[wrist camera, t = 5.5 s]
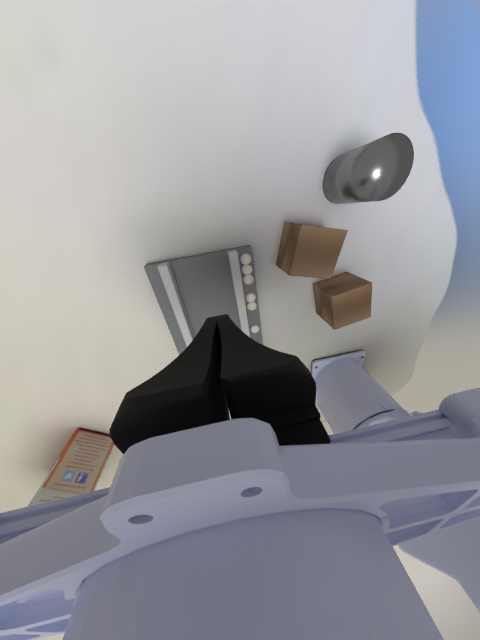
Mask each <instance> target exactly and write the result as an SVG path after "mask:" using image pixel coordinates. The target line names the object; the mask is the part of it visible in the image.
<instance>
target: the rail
mask: <svg viewBox="0 0 480 640" xmlns="http://www.w3.org/2000/svg"><path fill="white" fill-rule="evenodd" d="M144 268H145V271H146V273H147V275H148V278H149V280H150V283H151V285H152V288H153V290H154V293H155V295H156V298H157V300H158V303H159V305H160V308H161V310H162V313H163V315H164V317H165V320H166V322H167V325H168V327H169V330H170V332H171V335H172V337H173V340H174V342H175V345H176V347H177V350H178V352H179V355H180V354H181V353H182V352H183V351H184V350H185V349H186V348H187V347H188V346H189V344H190V343H191V342H192V340H193V339H194V338H195V336H196V335H197V333H198V332H199V330H200V329H201V327H202V325H203V324H204V322H205V320H206V319H207V318H209V317H214V316H219V315H224V314H228V315H229V317H230V318H231V320H232V321H233V322H234V323H235V325H236V326H237V327H238V328H239V329H240V330H241V331H243V332H244V333H245V334H246V335H247V336H249V337H250V338H252V339H253V340H255V341H256V342H258V343H260V344H262V336H261V327H260V318H259V309H258V300H257V291H256V282H255V273H254V264H253V255H252V247H251V246H250V245H248V246H242V247H237V248H232V249H226V250H221V251H215V252H210V253H204V254H199V255H193V256H188V257H182V258H177V259H172V260H166V261H161V262H155V263H150V264H146V265H145V266H144Z"/></svg>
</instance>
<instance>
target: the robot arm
mask: <svg viewBox="0 0 480 640" xmlns="http://www.w3.org/2000/svg"><path fill="white" fill-rule="evenodd" d="M365 355H366V352H365V351H363V350H362V351H357V352H352V353H348V354H343V355H338V356H334V357H329V358H325V359H320V360H315V361H313V362H312V372H311V373H310V371H309V370H308V369H307V368H306V366H305V365H304V364H303V363H302V362H301V361H300V359H299V358H298V357H297V356H294V355H290V354H286V353H282V352H279V351H276V350H273V349H271V348H268V347H266V346H264V345H262V344H260V343H258V342H256V341H255V340H253V339H252V338H250V337H249V336H247V335H246V334H245V333H244V332H243V331H241V330H240V329H239V328H238V327H237V326H236V325H235V323H234V322H233V321H232V320H231V318H230V317H229V315H228V314H224V315H219V316H214V317H209V318H207V319H206V320H205V322H204V324H203V325H202V327H201V329H200V330H199V332H198V333H197V335H196V336H195V338H194V339H193V340H192V342H191V343H190V344H189V346H188V347H187V348H186V349H185V350H184V351H183V352H182V353H181V354H180V355H179V356H178V357H177V358H176V359H175V360H174V361H172V362H171V363H170V364H169V365H168V366H167V367H165V368H164V369H163V370H161V371H160V372H159V373H157V374H156V375H154V376H153V377H152V378H150V379H149V380H147V381H145V382H144V383H142V384H140V385H139V386H137V387H136V388H134V389H132V390H131V391H129V392H127V393H126V395H125V397H124V399H123V401H122V403H121V405H120V407H119V410H118V412H117V414H116V416H115V418H114V421H113V423H112V425H111V428H110V430H109V431H110V438H111V439H112V441H113V442H114V444H115V445H116V446H117V447H118V449H119V450H120V451H121V452H122V453H123V454H124V455H123V456H122V457H121V459H120V462H119V465H118V468H117V470H116V473H115V476H114V479H113V482H112V484H111V487H109V488H105V489H101V490H96V491H92V492H88V493H84V494H79V495H75V496H71V497H67V498H63V499H58V500H54V501H50V502H46V503H41V504H37V505H33V506H29V507H25V508H20V509H16V510H12V511H8V512H3V513H0V640H32V639H37V638H42V637H46V636H51V635H55V634H60V633H65V634H64V637H63V640H444V639H443V638H442V636H441V634H440V632H439V630H438V629H437V627H436V625H435V623H434V621H433V619H432V618H431V616H430V614H429V612H428V610H427V609H426V607H425V605H424V603H423V601H422V599H421V598H420V596H419V594H418V592H417V590H416V588H415V587H414V585H413V583H412V581H411V579H410V578H409V576H408V574H407V572H406V570H405V568H404V567H403V565H402V563H401V561H400V559H399V557H398V556H397V554H396V552H395V550H394V548H393V547H392V546H394V545H398V546H399V548H400V549H401V550H402V551H404V552H405V553H406V554H408V555H410V556H412V557H414V558H416V559H418V560H420V561H421V562H423V563H425V564H427V565H429V566H431V567H433V568H435V569H437V570H439V571H441V572H443V573H445V574H447V575H448V576H450V577H452V578H453V579H455V580H456V581H458V582H459V584H460V585H461V586H462V588H463V589H464V591H465V592H466V593H467V595H468V596H469V597H470V599H471V600H472V602H473V603H474V605H475V606H476V608H477V609H478V610H479V612H480V388H475V389H471V390H467V391H462V392H458V393H454V394H451V395H449V396H447V397H446V398H444V399H443V400H442V402H441V403H440V406H439V409H438V410H435V411H430V412H426V413H419V412H417V411H414V412H413V413H411V414H412V415H413V416H411V415H410V414H409V413H408V412H407V411H406V410H404V409H403V408H402V407H401V406H400V405H399V404H398V403H397V402H396V401H395V400H394V399H393V398H392V397H391V396H390V395H389V394H388V393H387V392H386V391H385V390H384V389H383V388H382V387H381V386H380V385H379V384H378V383H377V382H376V381H375V380H374V379H373V378H372V377H371V376H370V375H369V374H368V373H367V372H366V371H365V370H364V369H363V364H364V359H365ZM316 403H317V404H318V406H319V408H320V410H321V411H322V413H323V415H324V417H325V418H326V420H327V422H328V424H329V425H330V427H331V429H332V431H333V433H334V434H333V435H329V436H328V434H327V432H326V431H325V428H324V426H323V424H322V423H321V421H320V413H319V412H318V410H317V408H316V406H315V404H316ZM228 408H229V410H228ZM229 412H230V415H231V420H230V418H229Z"/></svg>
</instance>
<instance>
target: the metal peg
mask: <svg viewBox="0 0 480 640" xmlns="http://www.w3.org/2000/svg"><path fill="white" fill-rule="evenodd" d="M413 158H414V151H413V145H412V143H411V141H410V139H409V138H408V137H407V136H406V135H404V134H402V133H392V134H389V135H387V136H384V137H382V138H380V139H377V140H375V141H373V142H371V143H368V144H366V145H364V146H361V147H359V148H357V149H355V150H352V151H350V152H348V153H345V154H343V155H341V156H339V157H337V158H336V159H335V160H333V161H332V163H331V164H330V165H329V167H328V168H327V170H326V172H325V175H324V179H323V191H324V194H325V197H326V198H327V199H328V200H329V201H330V202H332V203H335V204H341V203H355V202H369V201H381V200H385V199H387V198H389V197H391V196H392V195H394V194H395V193H396V192H397V191H398V190H399V189H400V188H401V187H402V186H403V184H404V183H405V181H406V179H407V178H408V176H409V173H410V171H411V168H412V164H413Z"/></svg>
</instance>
